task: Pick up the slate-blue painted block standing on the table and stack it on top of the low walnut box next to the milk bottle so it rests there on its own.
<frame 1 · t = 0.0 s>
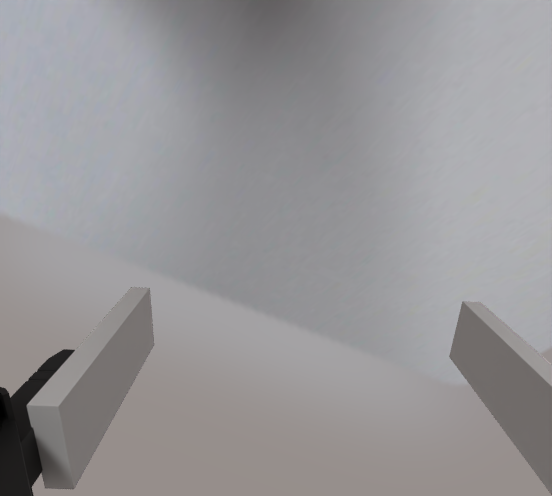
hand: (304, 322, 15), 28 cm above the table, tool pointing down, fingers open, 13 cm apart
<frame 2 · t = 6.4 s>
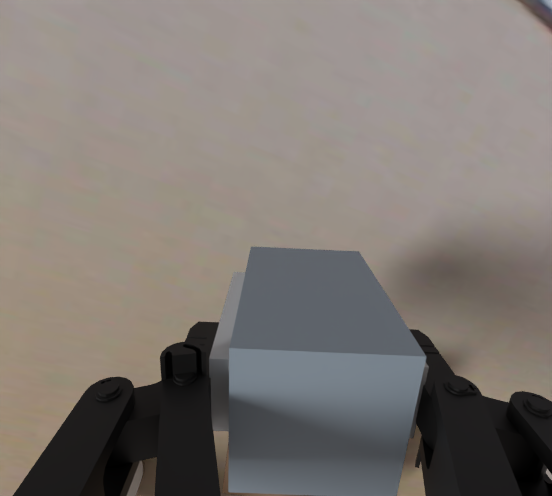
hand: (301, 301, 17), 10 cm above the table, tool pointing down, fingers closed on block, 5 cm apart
walnut box: (307, 393, 31), on the table
block: (301, 297, 17), point 9 cm above the table, touching gripper
when the fingers open (6 cm above the table, at t = 9.1 s): block stays where it is, point 5 cm above the table.
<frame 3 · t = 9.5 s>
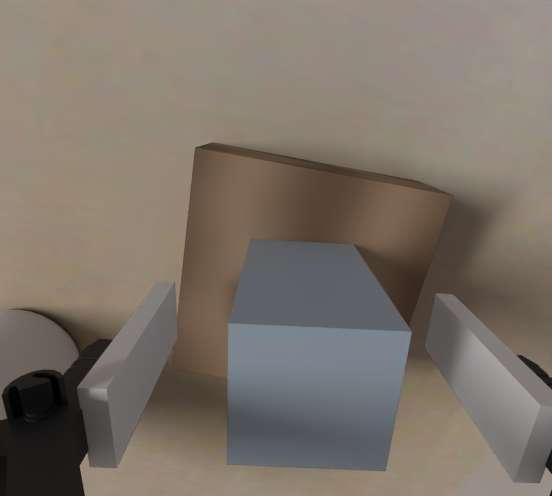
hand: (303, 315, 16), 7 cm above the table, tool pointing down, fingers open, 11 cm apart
milk bottle: (30, 353, 25), on the table
walnut box: (295, 256, 23), on the table
block: (298, 289, 18), point 5 cm above the table
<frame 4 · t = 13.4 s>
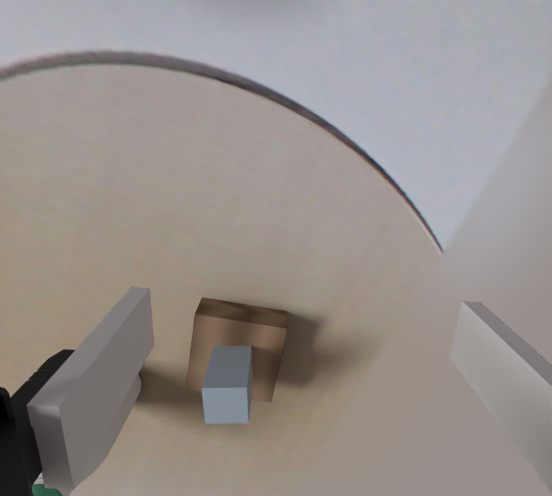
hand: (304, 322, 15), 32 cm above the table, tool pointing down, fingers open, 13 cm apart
milk bottle: (117, 379, 55), on the table
walnut box: (238, 339, 53), on the table, touching block
block: (233, 361, 48), point 5 cm above the table, touching walnut box
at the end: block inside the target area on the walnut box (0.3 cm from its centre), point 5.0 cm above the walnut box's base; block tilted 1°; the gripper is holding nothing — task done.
